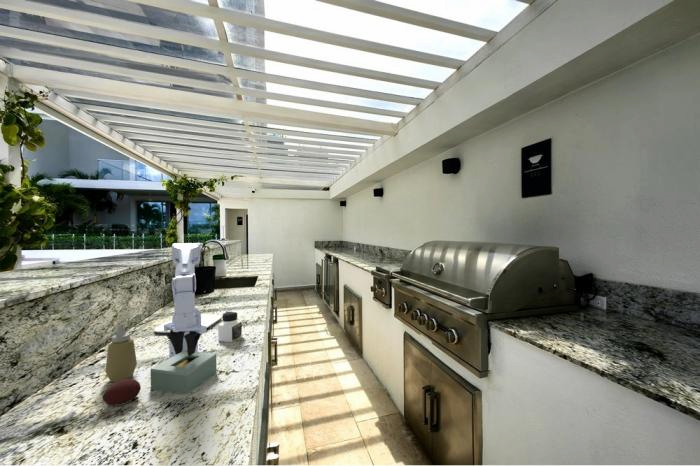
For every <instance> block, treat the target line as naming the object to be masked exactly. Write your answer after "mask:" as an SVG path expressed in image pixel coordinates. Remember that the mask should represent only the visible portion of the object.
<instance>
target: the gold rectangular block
mask: <svg viewBox="0 0 700 466" xmlns="http://www.w3.org/2000/svg"><path fill="white" fill-rule="evenodd" d="M188 363H189V362H188V360H185V361H183V362H182V363H180V364H178V365H177V366H176V367H183V366H185V365H186V364H188Z"/></svg>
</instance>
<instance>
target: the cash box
mask: <svg viewBox="0 0 700 466" xmlns="http://www.w3.org/2000/svg"><path fill="white" fill-rule="evenodd" d="M185 360H188V362H189V363H188V364H186V365H185V366H183V367H176V366H177V365H178V364H180V363H182V362H183V361H185ZM217 369H218V367H217V353H213V352H204V351H203V352H195V353H194V354H192V355H190V356H189V355H188V351H186V350H184V351H182V352H180V353H179V354H177V355H175V356H173V357H171V358H169V359H168V358H167V359H166V360H163V361H162V362H160V363H158V364H157V365H154V366H153V367H151V368H150V390H152V391H153V390H155V391H159V392H166V393H168V392H169V393H175V394H180V395H181V394H182V395H188V394H189V393H190V392H192V391H193V390H195V389H196V388H198V387H199V386H200V385H202V383H204V382H205V381H206V380H208V379H209V378H211V377H212V376H213V375H214V374H216V373H218V371H217Z"/></svg>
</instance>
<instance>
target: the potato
mask: <svg viewBox="0 0 700 466" xmlns="http://www.w3.org/2000/svg"><path fill="white" fill-rule="evenodd" d="M140 391H141V384H140V382H139V381H138V380H136V379H133V378H128V379H124V380H120V381H117V382H113V383H112V384H111V385H109V387H108V388H106V389H105V390H104V392H103V395H102V402H104V403H105V404H106V405H108V406H120V405H124V404H127V403H129V402H131V401H132V400H134V399H135V398H137V397H138V395H139V394H140Z"/></svg>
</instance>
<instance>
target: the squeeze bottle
mask: <svg viewBox="0 0 700 466" xmlns="http://www.w3.org/2000/svg"><path fill="white" fill-rule="evenodd" d="M137 364H138V362H137V355H136V349H135V340H134V339H133V338H131V333H130V332H127V331H126V328H125V326H124V323H119V324H118V326H117V329H116V333H115V334H114V335H112V336H111V342H110V343H109V344H108V347H107V355H106V364H105V374H106V376H107V378H108V379H109V381H110V382H111V383H116V382H117V381H120V380H124V379H131V377H132V376H134V373H135V371H136V370H135V369H136V367H137Z"/></svg>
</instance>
